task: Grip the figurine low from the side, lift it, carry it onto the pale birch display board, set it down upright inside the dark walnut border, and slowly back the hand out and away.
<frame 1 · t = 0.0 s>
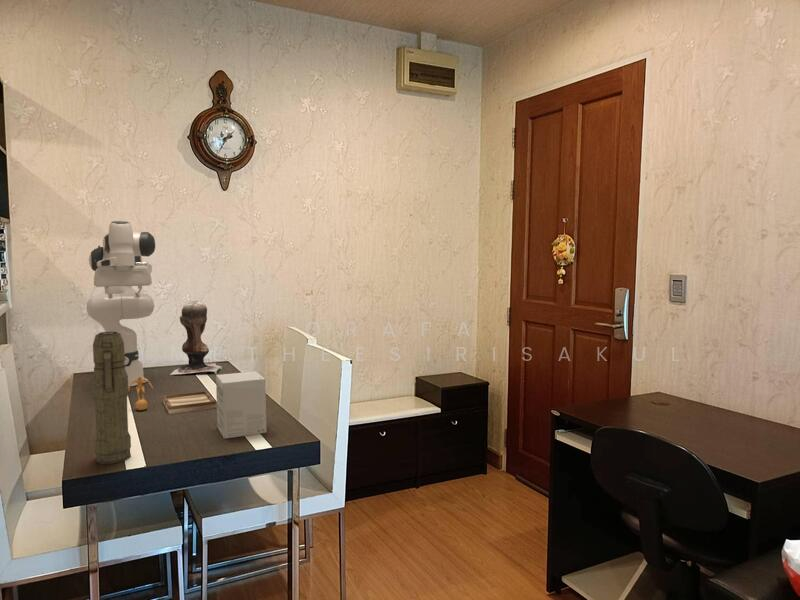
hand: (124, 298, 220), 39 cm above the table, tool pointing down, fingers open, 8 cm apart
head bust: (198, 370, 274), on the table
figurine: (141, 410, 205), on the table
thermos: (113, 458, 157), on the table
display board: (189, 405, 211), on the table
supplement box: (241, 430, 182), on the table
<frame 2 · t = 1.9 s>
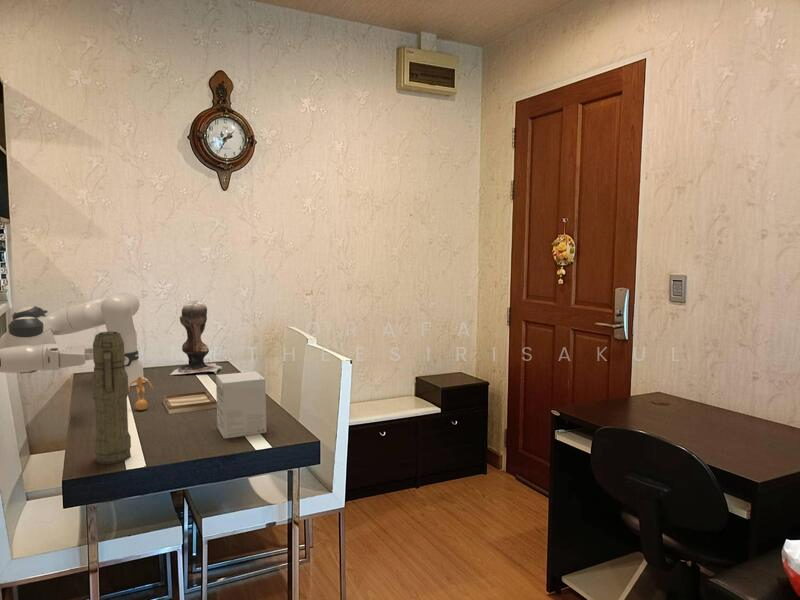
hand: (100, 353, 197), 22 cm above the table, tool horizontal, fingers open, 8 cm apart
nothing on the table moved.
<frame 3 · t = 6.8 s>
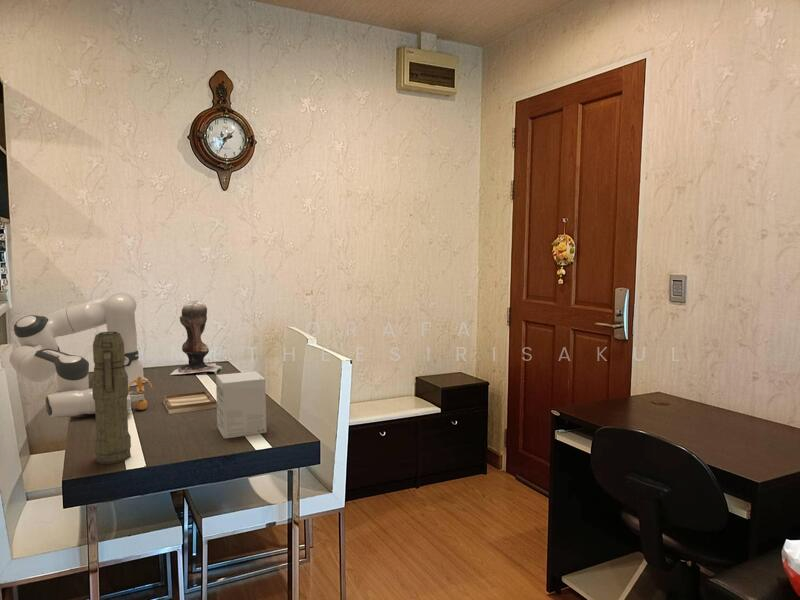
hand: (143, 395, 205), 5 cm above the table, tool horizontal, fingers closed, pressing on figurine
figurine: (141, 409, 205), on the table, touching gripper
everything else where it was.
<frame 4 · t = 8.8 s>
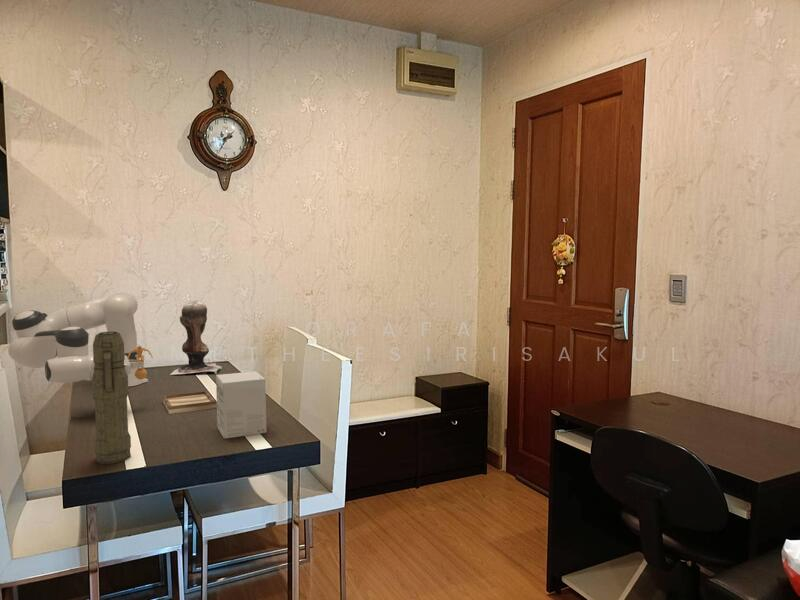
hand: (143, 363, 204), 17 cm above the table, tool horizontal, fingers closed on figurine
figurine: (140, 379, 204), point 11 cm above the table, touching gripper
everything else where it was.
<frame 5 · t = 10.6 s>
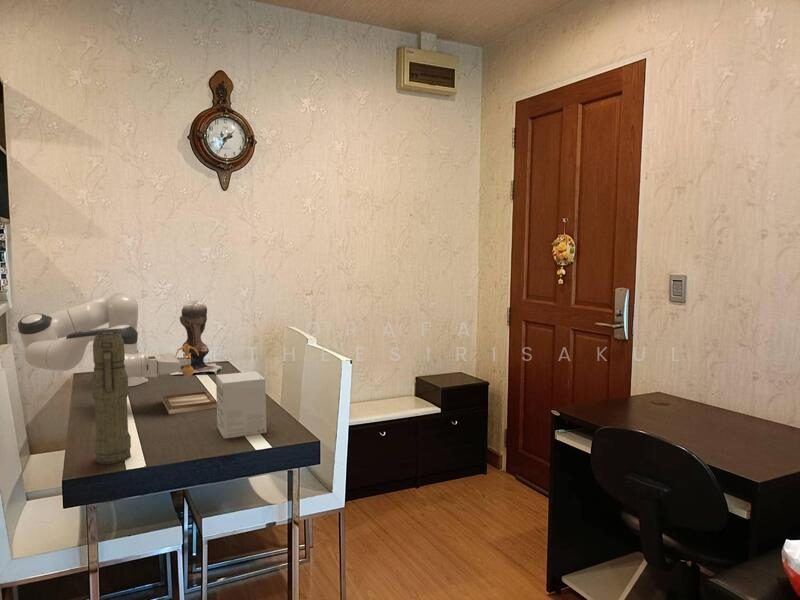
hand: (190, 360, 210), 17 cm above the table, tool horizontal, fingers closed on figurine
figurine: (187, 376, 211), point 11 cm above the table, touching gripper
everything else where it was.
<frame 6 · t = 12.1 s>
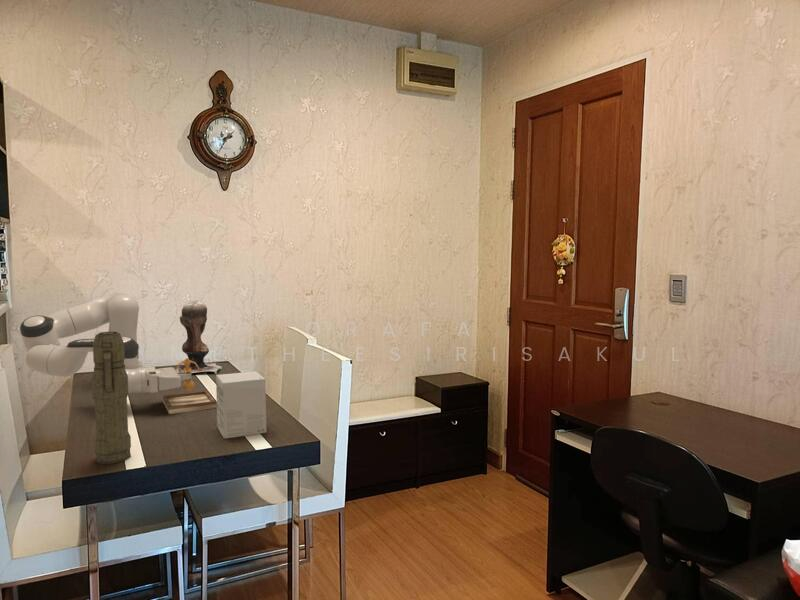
hand: (190, 375, 210), 11 cm above the table, tool horizontal, fingers closed on figurine
figurine: (188, 390, 211), point 5 cm above the table, touching gripper
everything else where it was.
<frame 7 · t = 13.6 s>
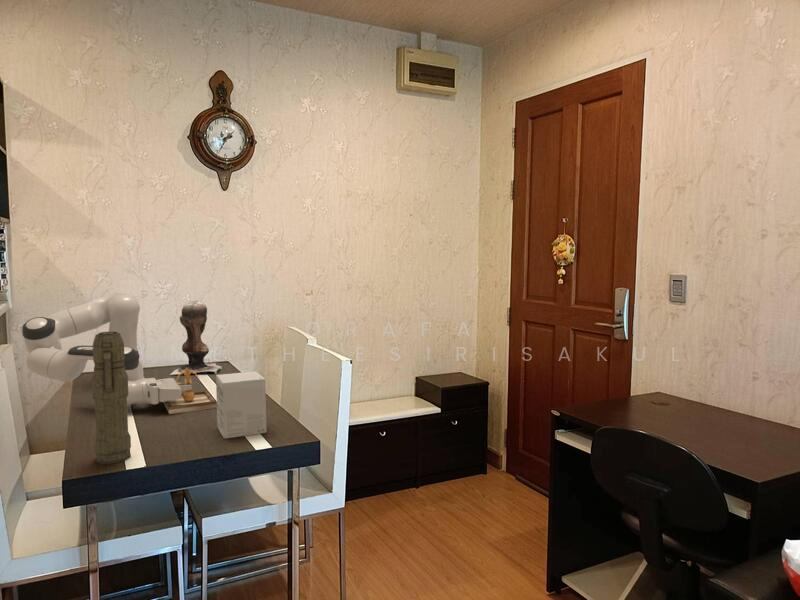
hand: (191, 386, 211), 7 cm above the table, tool horizontal, fingers closed on figurine
figurine: (188, 401, 211), point 1 cm above the table, touching gripper
everything else where it was.
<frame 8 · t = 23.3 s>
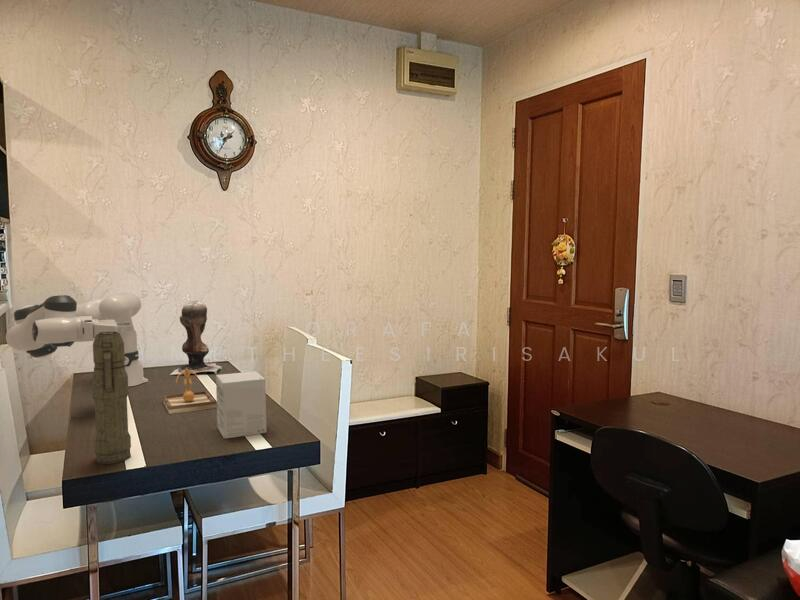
hand: (130, 326, 205), 30 cm above the table, tool horizontal, fingers open, 8 cm apart
figurine: (188, 401, 211), point 1 cm above the table, touching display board
everything else where it was.
at the end: figurine inside the target area on the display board (0.2 cm from its centre), point 1.3 cm above the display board's base; figurine tilted 0°; the gripper is holding nothing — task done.
